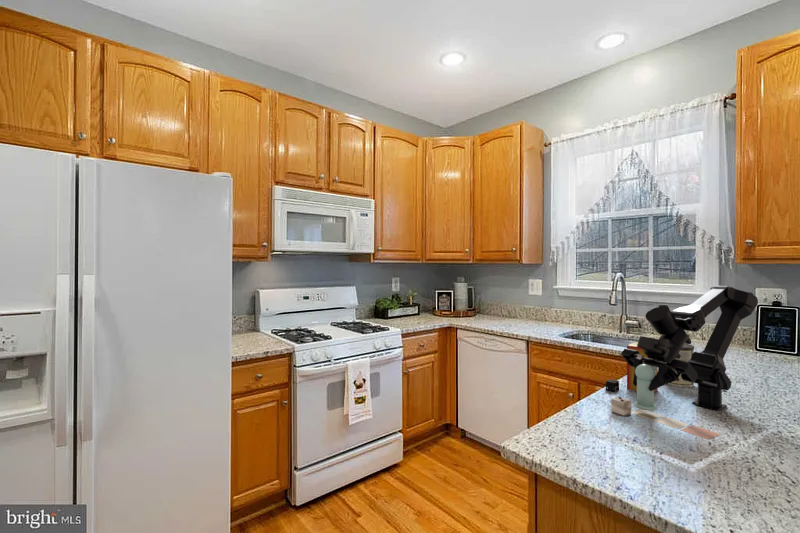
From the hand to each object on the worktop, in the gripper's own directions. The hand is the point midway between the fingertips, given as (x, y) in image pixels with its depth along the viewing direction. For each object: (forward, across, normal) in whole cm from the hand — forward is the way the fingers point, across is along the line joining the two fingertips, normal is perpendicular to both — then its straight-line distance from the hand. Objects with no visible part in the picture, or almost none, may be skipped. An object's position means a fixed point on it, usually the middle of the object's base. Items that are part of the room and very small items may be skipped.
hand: (641, 387), depth 104 cm
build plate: (-1, -18, +14) cm, 23 cm away
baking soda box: (-10, -17, +22) cm, 29 cm away
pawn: (+3, 0, +5) cm, 6 cm away
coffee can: (-24, -19, +37) cm, 48 cm away
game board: (+3, +5, +9) cm, 11 cm away
